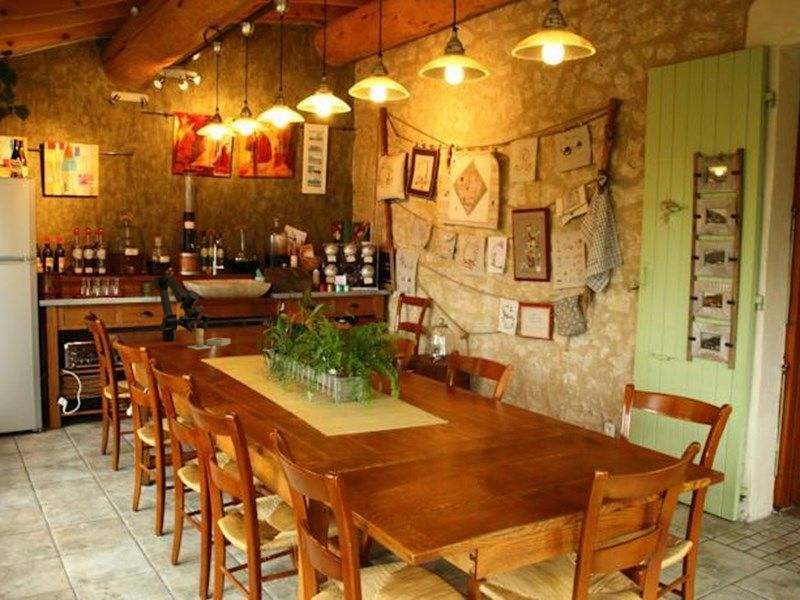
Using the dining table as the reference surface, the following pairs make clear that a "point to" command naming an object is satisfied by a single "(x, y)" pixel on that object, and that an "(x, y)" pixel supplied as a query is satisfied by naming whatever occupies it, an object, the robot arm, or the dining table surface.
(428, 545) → the dining table surface
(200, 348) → the pad
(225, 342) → the collar
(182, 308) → the robot arm
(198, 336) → the post
